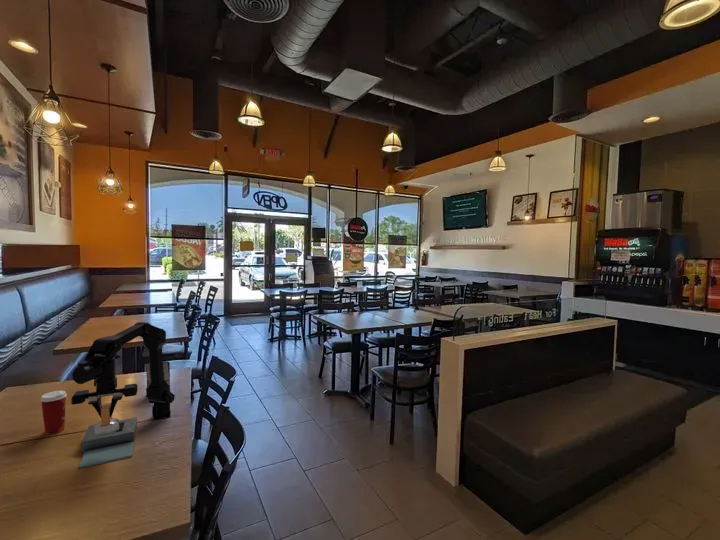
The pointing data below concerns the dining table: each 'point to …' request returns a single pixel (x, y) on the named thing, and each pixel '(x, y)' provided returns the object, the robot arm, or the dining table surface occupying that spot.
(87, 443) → the housing
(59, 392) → the coffee cup
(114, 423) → the grey round brown-barred piece
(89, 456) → the mat
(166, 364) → the coffee box
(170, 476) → the dining table surface
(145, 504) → the dining table surface
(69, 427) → the dining table surface
